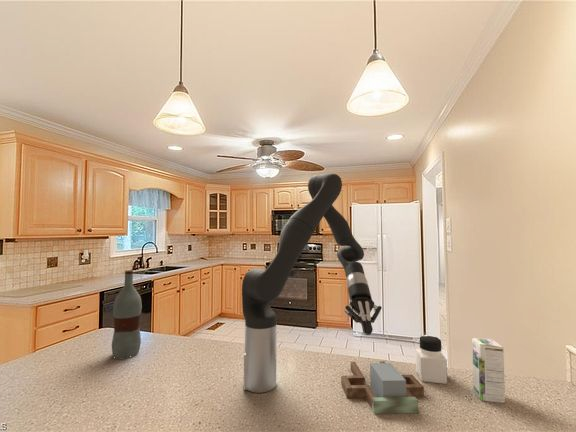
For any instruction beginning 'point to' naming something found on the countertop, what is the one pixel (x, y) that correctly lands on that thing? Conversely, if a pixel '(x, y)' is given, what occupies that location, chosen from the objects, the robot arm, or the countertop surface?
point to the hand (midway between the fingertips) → (368, 333)
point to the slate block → (386, 380)
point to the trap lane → (358, 389)
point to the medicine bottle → (431, 360)
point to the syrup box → (488, 370)
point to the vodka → (127, 320)
